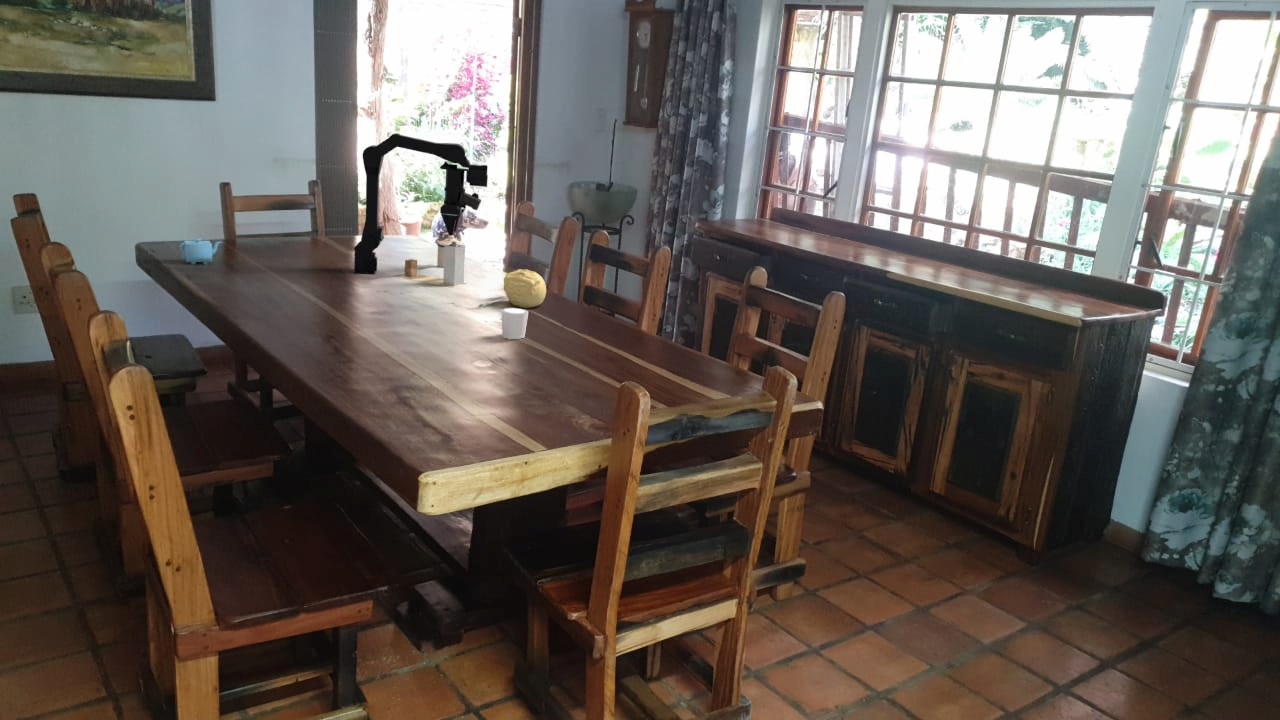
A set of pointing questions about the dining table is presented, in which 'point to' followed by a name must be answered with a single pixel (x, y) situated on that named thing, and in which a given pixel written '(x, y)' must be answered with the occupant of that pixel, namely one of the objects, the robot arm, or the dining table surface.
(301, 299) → the dining table surface
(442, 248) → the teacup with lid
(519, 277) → the yellow lumpy ball
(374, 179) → the robot arm
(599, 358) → the dining table surface
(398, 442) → the dining table surface
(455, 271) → the tall grey block
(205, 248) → the teapot
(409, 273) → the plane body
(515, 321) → the shot glass
